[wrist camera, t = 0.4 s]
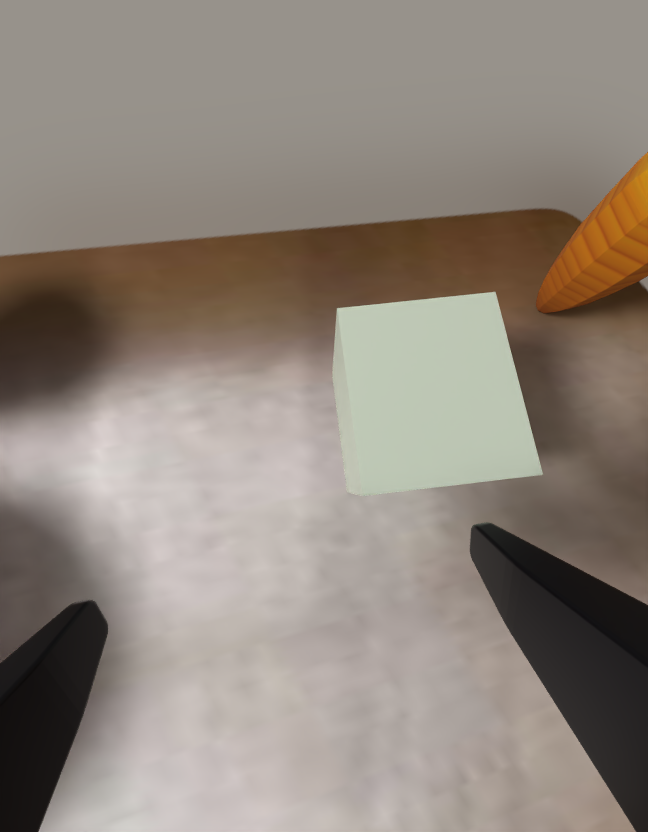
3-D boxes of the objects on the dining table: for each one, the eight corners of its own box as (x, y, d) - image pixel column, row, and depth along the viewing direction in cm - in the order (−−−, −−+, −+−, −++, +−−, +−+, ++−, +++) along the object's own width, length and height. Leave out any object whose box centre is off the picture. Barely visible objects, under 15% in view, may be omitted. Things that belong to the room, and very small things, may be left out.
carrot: (538, 351, 24) (883, 132, 9) (493, 302, 25) (742, 31, 10) (585, 316, 24) (980, 59, 10) (540, 270, 25) (839, -30, 11)
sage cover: (454, 479, 22) (543, 474, 13) (346, 492, 21) (362, 496, 13) (431, 364, 23) (495, 291, 15) (332, 375, 23) (337, 308, 15)
